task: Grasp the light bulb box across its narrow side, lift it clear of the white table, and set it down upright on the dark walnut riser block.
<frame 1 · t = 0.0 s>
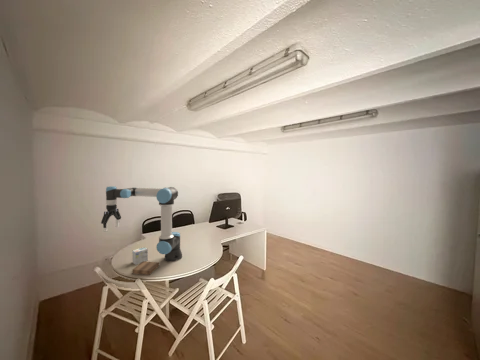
hand: (111, 229, 169), 28 cm above the table, fingers open, 13 cm apart
walnut riser: (146, 269, 157), on the table
light bulb box: (140, 261, 171), on the table
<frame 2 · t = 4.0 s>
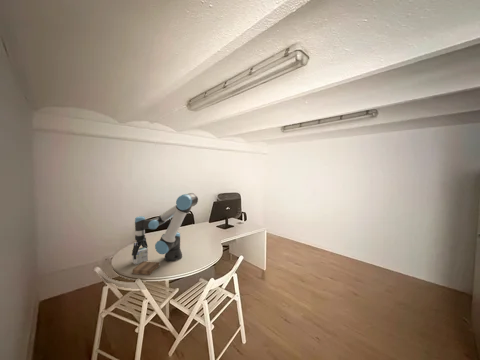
hand: (140, 259, 170), 2 cm above the table, fingers closed on light bulb box, 12 cm apart
light bulb box: (140, 261, 171), on the table, touching gripper
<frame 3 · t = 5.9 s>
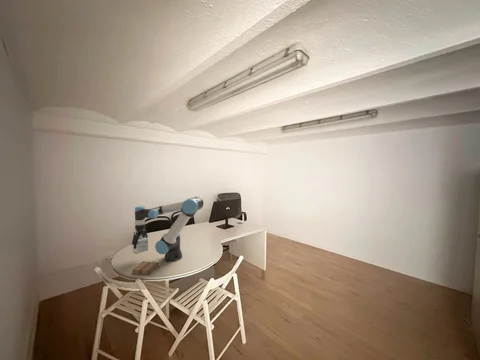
hand: (140, 249, 170), 11 cm above the table, fingers closed on light bulb box, 12 cm apart
light bulb box: (140, 251, 170), point 9 cm above the table, touching gripper
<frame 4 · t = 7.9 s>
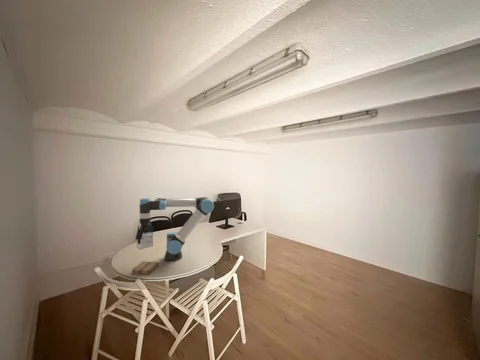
hand: (144, 244, 158), 19 cm above the table, fingers closed on light bulb box, 12 cm apart
light bulb box: (144, 247, 158), point 17 cm above the table, touching gripper
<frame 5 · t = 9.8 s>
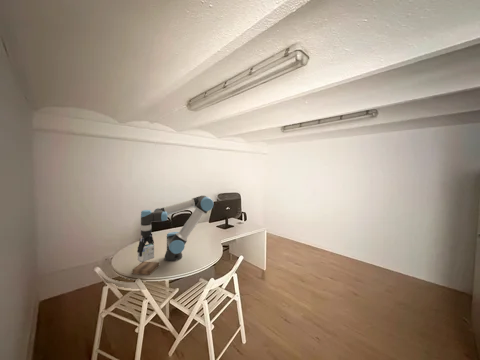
hand: (146, 256, 156), 10 cm above the table, fingers closed on light bulb box, 12 cm apart
light bulb box: (146, 259, 156), point 8 cm above the table, touching gripper
when the fingers open (6 cm above the table, at t = 11.8 s): light bulb box stays where it is, resting on walnut riser.
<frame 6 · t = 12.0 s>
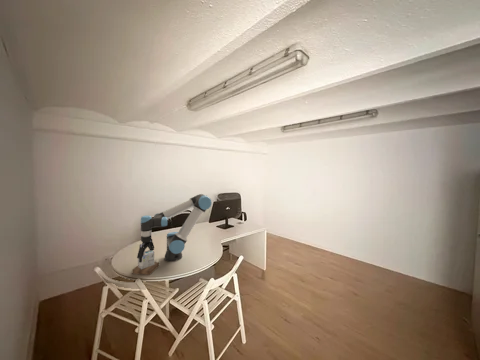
hand: (146, 261, 157), 6 cm above the table, fingers open, 13 cm apart
light bulb box: (146, 266, 157), point 3 cm above the table, touching walnut riser
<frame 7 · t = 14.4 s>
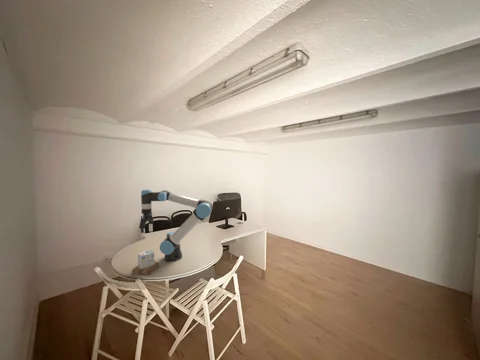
hand: (147, 233, 164), 26 cm above the table, fingers open, 13 cm apart
nothing on the table moved.
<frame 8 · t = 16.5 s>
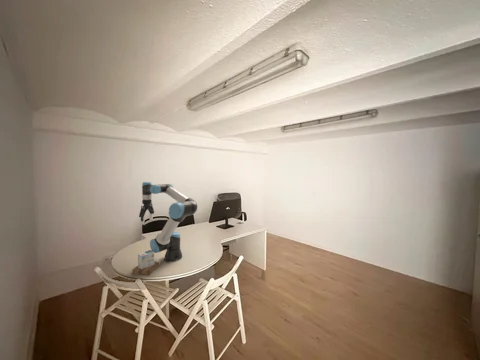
hand: (147, 222, 178), 32 cm above the table, fingers open, 13 cm apart
nothing on the table moved.
at the end: light bulb box inside the target area on the walnut riser (0.0 cm from its centre), point 2.8 cm above the walnut riser's base; light bulb box tilted 0°; the gripper is holding nothing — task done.
